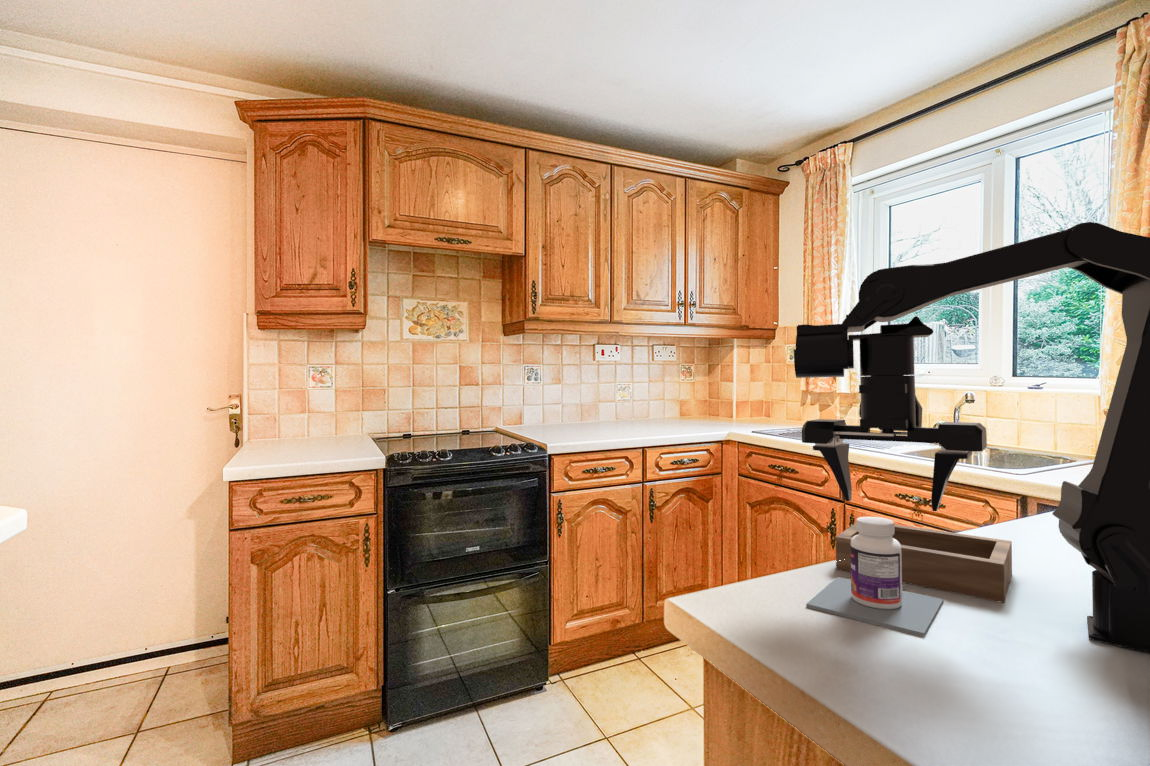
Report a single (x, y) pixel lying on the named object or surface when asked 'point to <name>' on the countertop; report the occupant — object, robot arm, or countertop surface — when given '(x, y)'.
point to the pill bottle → (876, 564)
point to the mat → (906, 618)
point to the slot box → (945, 561)
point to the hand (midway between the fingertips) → (889, 505)
